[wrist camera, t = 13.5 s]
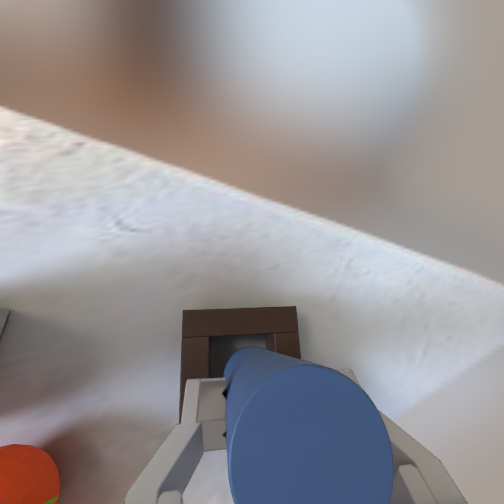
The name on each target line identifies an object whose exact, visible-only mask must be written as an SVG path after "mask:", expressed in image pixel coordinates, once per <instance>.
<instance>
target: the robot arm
mask: <svg viewBox="0 0 504 504" xmlns="http://www.w3.org/2000/svg"><path fill="white" fill-rule="evenodd" d="M336 371H338V372H340V373H342V374H344V375H345V376H347V377H349V378H350V379H352V380H353V381H354V382H355V383H356V384H358V385H359V386H360V384H359V383H358V381H357V379H356V377H355V375H354V373H353V372H352V371H351V370H350V369H345V370H336ZM360 387H361V386H360ZM226 403H227V399H226V378H203V379H187V382H186V388H185V395H184V403H183V410H182V418H181V424H176V426H175V427H174V428H173V430H172V431H171V433H170V434H169V435H168V437H167V438H166V439H165V441H164V442H163V444H162V445H161V446H160V448H159V449H158V451H157V452H156V453H155V455H154V456H153V458H152V459H151V460H150V462H149V463H148V464H147V466H146V467H145V469H144V470H143V471H142V473H141V474H140V476H139V477H138V478H137V480H136V481H135V483H134V484H133V485H132V487H131V488H130V489H129V491H128V492H127V494H126V497H125V501H124V504H183V498H182V494H183V492H184V490H185V488H186V486H187V484H188V482H189V480H190V479H191V477H192V475H193V473H194V471H195V469H196V467H197V465H198V463H199V461H200V459H201V457H202V455H203V452H205V451H213V450H221V449H227V436H226ZM377 410H378V409H377ZM378 411H379V410H378ZM379 413H380V415H381V417H382V419H383V421H384V424H385V426H386V429H387V432H388V435H389V438H390V443H391V447H392V453H393V461H394V479H393V490H392V495H391V500H390V504H468V503H467V501H466V500H465V498H464V497H463V495H462V494H461V492H460V490H459V489H458V487H457V486H456V484H455V483H454V481H453V480H452V478H451V477H450V475H449V473H448V472H447V470H446V469H445V467H444V466H443V464H442V463H441V461H440V460H439V459H438V458H437V457H436V456H434V455H433V454H432V453H431V452H430V451H428V450H427V449H426V448H425V447H423V446H422V445H421V444H420V443H418V442H417V441H416V440H415V439H414V438H412V437H411V436H410V435H409V434H407V433H406V432H405V431H404V430H402V429H401V428H400V427H399V426H398V425H396V424H395V423H394V422H393V421H391V420H390V419H389V418H388V417H386V416H385V415H384V414H383V413H382V412H380V411H379Z"/></svg>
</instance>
